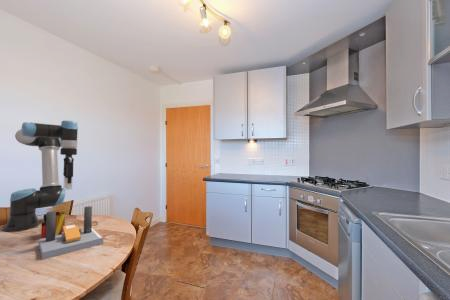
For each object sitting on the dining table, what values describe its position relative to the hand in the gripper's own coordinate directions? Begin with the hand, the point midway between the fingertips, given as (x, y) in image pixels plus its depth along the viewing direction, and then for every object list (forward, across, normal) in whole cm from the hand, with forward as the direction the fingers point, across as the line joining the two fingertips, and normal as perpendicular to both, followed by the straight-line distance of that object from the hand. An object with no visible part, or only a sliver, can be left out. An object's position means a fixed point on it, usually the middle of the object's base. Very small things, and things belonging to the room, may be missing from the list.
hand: (67, 188), depth 119 cm
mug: (+27, -5, -5) cm, 28 cm away
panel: (+27, +15, 0) cm, 31 cm away
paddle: (+21, +15, 0) cm, 26 cm away
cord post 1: (+24, +10, -8) cm, 27 cm away
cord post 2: (+24, +10, +8) cm, 27 cm away
